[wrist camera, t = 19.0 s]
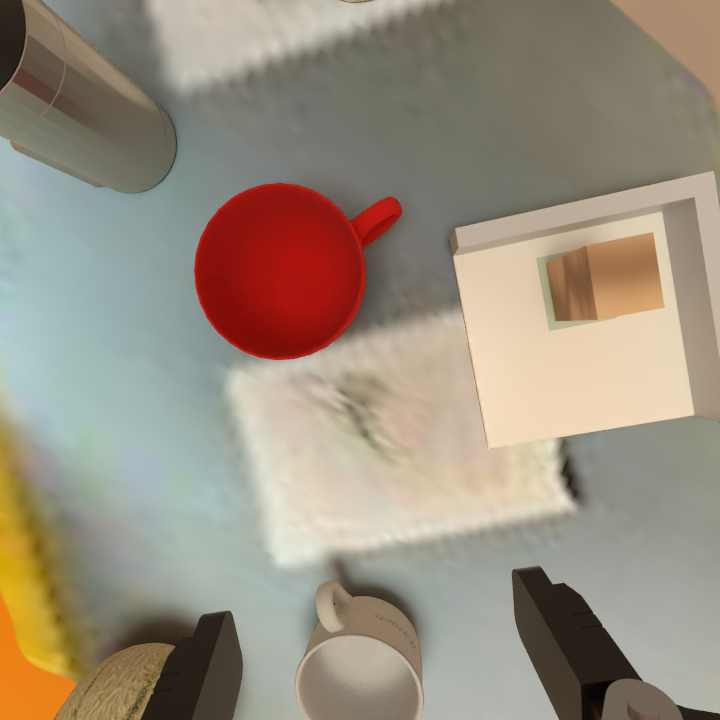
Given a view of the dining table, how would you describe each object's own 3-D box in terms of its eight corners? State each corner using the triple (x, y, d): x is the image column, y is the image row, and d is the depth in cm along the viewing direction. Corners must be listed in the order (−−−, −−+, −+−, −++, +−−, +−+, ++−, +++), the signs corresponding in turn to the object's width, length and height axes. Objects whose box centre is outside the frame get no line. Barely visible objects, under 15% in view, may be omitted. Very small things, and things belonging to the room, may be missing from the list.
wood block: (609, 311, 40) (667, 307, 31) (555, 321, 40) (598, 319, 31) (599, 252, 39) (656, 231, 31) (545, 263, 40) (586, 245, 31)
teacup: (430, 677, 45) (435, 752, 37) (324, 688, 46) (307, 764, 38) (403, 542, 44) (402, 590, 36) (296, 558, 45) (273, 607, 37)
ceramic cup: (437, 284, 42) (446, 271, 32) (286, 377, 44) (251, 392, 34) (364, 164, 42) (351, 114, 32) (216, 263, 44) (161, 245, 34)
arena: (487, 446, 42) (498, 462, 37) (449, 239, 41) (455, 228, 36) (709, 410, 40) (752, 422, 35) (674, 190, 39) (713, 171, 34)
